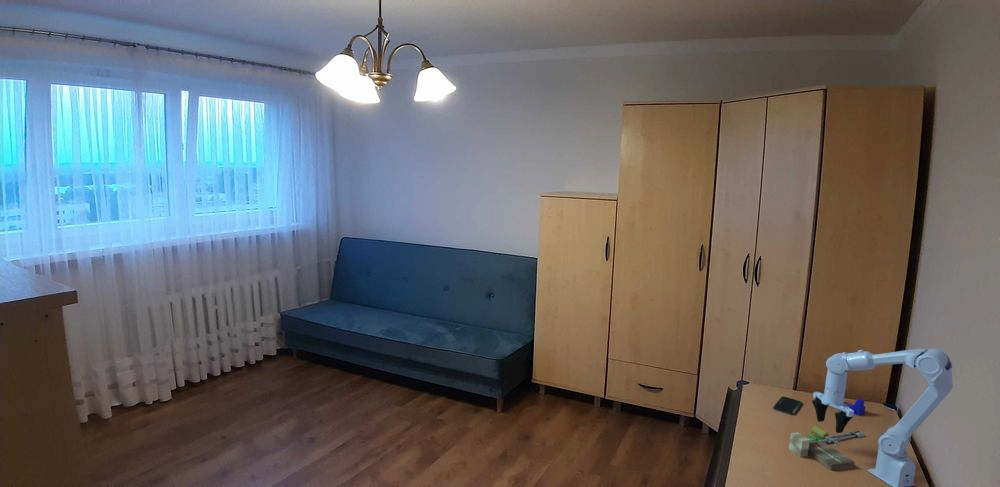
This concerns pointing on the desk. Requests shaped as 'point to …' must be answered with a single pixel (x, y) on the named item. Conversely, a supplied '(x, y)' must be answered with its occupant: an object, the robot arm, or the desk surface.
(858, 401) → the blue u-shaped bracket
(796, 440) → the joiner mallet
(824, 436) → the flamethrower
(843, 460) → the brown flat block
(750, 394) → the desk surface
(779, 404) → the phone
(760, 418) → the desk surface
